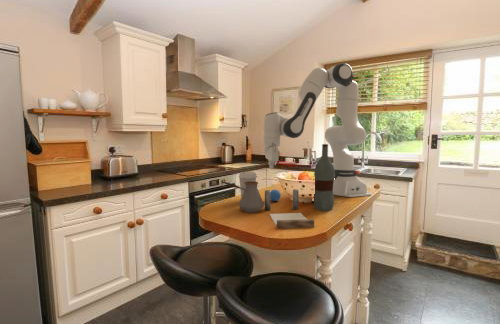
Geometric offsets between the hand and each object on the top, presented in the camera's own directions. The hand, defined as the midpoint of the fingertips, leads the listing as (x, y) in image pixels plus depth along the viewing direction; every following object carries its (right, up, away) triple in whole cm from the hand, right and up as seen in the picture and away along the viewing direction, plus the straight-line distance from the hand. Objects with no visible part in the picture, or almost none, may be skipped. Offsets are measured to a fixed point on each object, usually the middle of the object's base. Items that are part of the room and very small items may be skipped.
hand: (271, 168), depth 154 cm
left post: (-4, -19, -24) cm, 30 cm away
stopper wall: (+6, -21, -47) cm, 51 cm away
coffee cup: (-13, -17, -9) cm, 23 cm away
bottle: (+23, -19, -21) cm, 36 cm away
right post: (+10, -18, -22) cm, 30 cm away
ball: (+1, -14, -7) cm, 16 cm away
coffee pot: (-15, -19, -27) cm, 36 cm away
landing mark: (+5, -20, -37) cm, 42 cm away
